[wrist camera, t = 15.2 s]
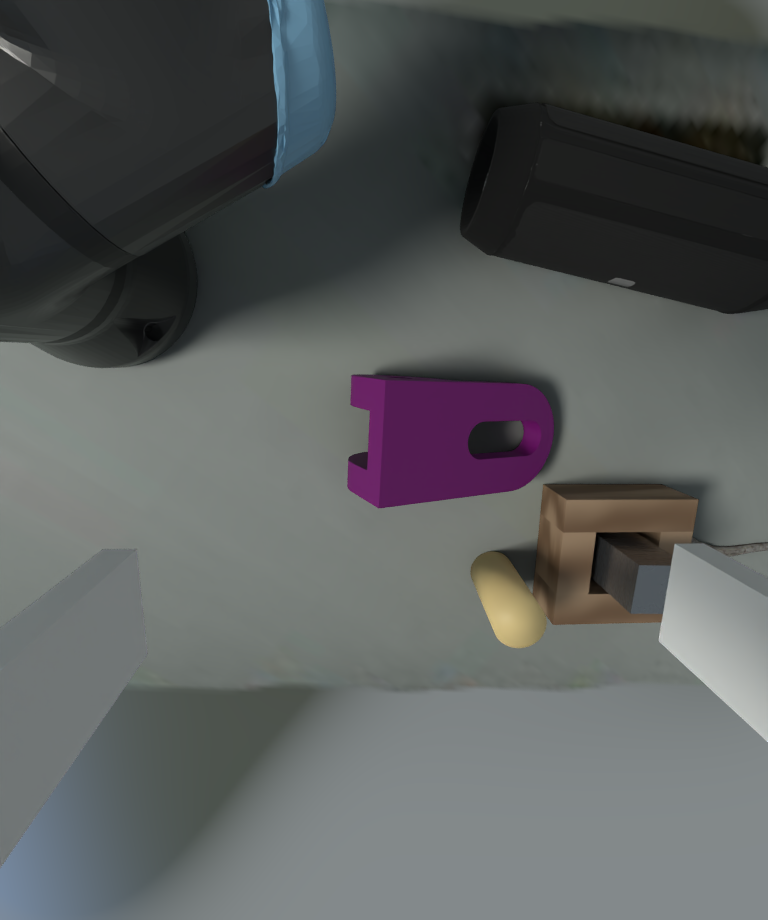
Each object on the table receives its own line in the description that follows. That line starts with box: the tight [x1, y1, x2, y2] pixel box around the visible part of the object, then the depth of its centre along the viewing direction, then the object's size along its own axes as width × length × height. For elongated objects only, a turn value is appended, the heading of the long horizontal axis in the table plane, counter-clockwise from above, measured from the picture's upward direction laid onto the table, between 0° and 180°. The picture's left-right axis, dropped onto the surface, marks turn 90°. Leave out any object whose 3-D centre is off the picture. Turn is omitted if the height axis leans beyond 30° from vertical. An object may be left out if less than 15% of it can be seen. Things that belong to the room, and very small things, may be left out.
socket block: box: [533, 484, 699, 625], centre depth 44 cm, size 12×12×5 cm
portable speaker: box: [460, 103, 768, 314], centre depth 35 cm, size 26×10×10 cm, turn 78°
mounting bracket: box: [347, 375, 554, 508], centre depth 41 cm, size 9×8×18 cm
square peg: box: [591, 532, 673, 614], centre depth 42 cm, size 4×4×10 cm
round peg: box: [471, 551, 546, 648], centre depth 41 cm, size 4×4×10 cm
